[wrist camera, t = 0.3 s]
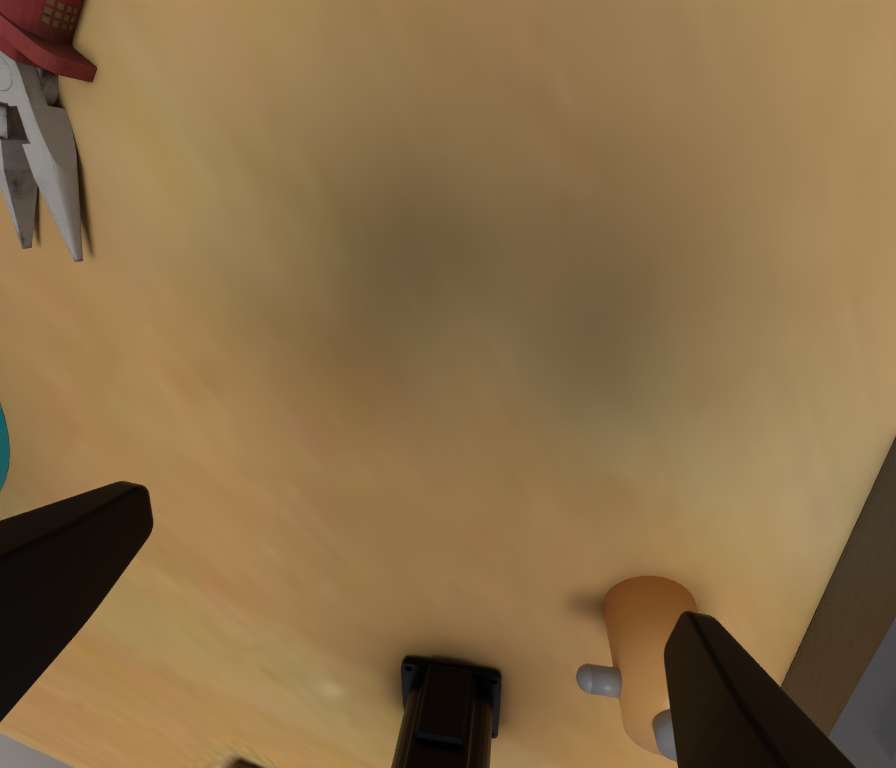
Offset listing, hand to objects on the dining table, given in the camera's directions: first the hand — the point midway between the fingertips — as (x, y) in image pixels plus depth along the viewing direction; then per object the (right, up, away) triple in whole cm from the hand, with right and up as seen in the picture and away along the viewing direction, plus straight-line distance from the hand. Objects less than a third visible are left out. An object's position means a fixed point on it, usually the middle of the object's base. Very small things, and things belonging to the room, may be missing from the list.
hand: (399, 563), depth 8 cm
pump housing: (+12, -9, +18) cm, 23 cm away
